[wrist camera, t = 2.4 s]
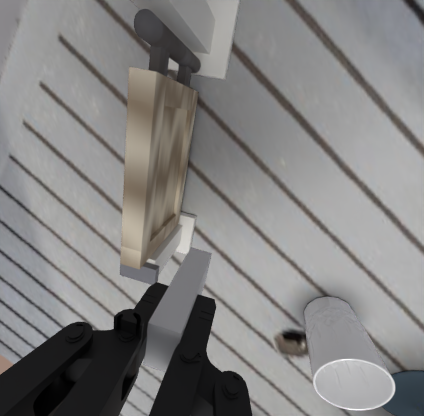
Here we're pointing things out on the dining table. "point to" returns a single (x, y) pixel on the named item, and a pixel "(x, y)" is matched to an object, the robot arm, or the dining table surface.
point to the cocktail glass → (407, 394)
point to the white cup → (344, 357)
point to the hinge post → (200, 30)
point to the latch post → (164, 251)
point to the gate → (156, 141)
